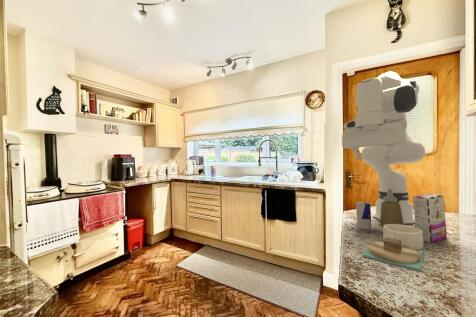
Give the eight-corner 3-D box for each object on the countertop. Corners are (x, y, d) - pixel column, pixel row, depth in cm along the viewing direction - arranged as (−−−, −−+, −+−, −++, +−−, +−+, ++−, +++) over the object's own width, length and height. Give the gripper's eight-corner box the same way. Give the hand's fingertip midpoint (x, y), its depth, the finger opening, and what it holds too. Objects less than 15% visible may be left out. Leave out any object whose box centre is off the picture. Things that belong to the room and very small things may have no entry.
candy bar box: (430, 234, 81) (428, 193, 82) (447, 238, 77) (444, 194, 77) (414, 239, 77) (412, 195, 77) (431, 244, 72) (428, 197, 73)
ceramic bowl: (387, 236, 81) (386, 222, 81) (424, 243, 73) (423, 227, 73) (381, 244, 73) (380, 229, 73) (422, 253, 66) (421, 236, 66)
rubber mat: (373, 243, 74) (373, 241, 74) (423, 254, 65) (423, 252, 65) (363, 256, 65) (362, 254, 65) (420, 271, 55) (420, 269, 55)
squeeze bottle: (402, 236, 80) (399, 190, 81) (377, 231, 86) (375, 189, 87) (406, 231, 86) (403, 188, 86) (383, 227, 92) (381, 187, 92)
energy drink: (374, 232, 86) (372, 203, 86) (360, 232, 87) (358, 203, 87) (368, 228, 91) (367, 201, 91) (355, 228, 92) (354, 201, 92)
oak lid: (373, 242, 74) (373, 230, 74) (421, 252, 65) (421, 239, 65) (364, 254, 65) (363, 241, 65) (418, 268, 56) (417, 252, 56)
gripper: (407, 117, 72) (409, 157, 71) (344, 126, 86) (346, 159, 86) (405, 115, 67) (407, 157, 67) (339, 125, 82) (341, 159, 81)
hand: (372, 158), depth 76 cm, fingers open, 8 cm apart
